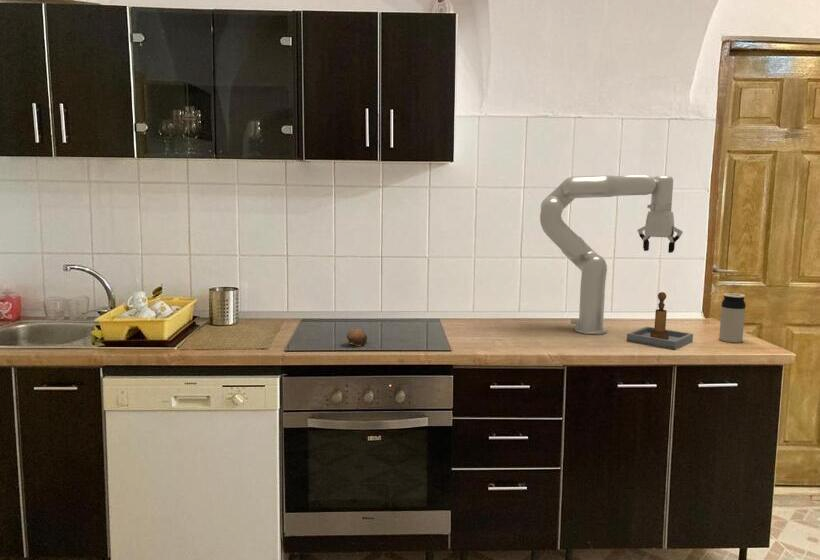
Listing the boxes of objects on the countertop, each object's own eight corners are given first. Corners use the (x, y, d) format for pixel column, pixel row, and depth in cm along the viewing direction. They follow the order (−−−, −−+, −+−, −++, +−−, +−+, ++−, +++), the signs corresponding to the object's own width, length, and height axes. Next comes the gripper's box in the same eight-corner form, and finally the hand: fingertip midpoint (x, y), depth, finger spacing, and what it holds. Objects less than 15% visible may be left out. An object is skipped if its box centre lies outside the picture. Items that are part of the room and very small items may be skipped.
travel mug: (728, 343, 231) (732, 296, 228) (714, 338, 238) (718, 293, 236) (747, 342, 232) (751, 296, 230) (732, 337, 240) (736, 292, 237)
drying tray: (626, 341, 233) (627, 333, 232) (646, 333, 246) (646, 326, 245) (674, 350, 221) (675, 341, 220) (692, 341, 233) (693, 333, 233)
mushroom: (342, 334, 228) (349, 322, 225) (360, 340, 232) (368, 328, 229) (343, 348, 222) (351, 336, 219) (362, 354, 225) (370, 343, 222)
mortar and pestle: (665, 341, 229) (668, 294, 226) (647, 339, 232) (650, 292, 230) (670, 338, 234) (673, 292, 231) (652, 336, 238) (655, 290, 235)
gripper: (635, 207, 242) (632, 250, 244) (680, 208, 230) (677, 253, 232) (643, 207, 247) (640, 249, 250) (687, 208, 235) (684, 252, 238)
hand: (658, 251), depth 241 cm, fingers open, 9 cm apart
